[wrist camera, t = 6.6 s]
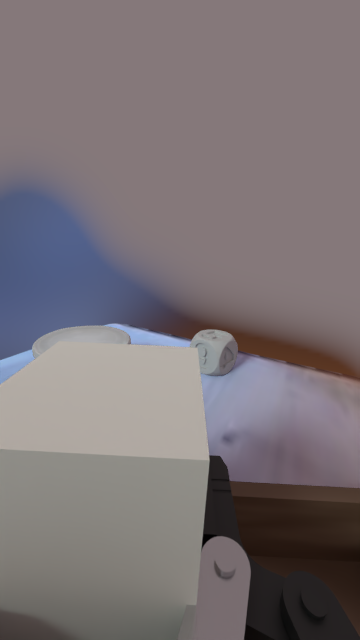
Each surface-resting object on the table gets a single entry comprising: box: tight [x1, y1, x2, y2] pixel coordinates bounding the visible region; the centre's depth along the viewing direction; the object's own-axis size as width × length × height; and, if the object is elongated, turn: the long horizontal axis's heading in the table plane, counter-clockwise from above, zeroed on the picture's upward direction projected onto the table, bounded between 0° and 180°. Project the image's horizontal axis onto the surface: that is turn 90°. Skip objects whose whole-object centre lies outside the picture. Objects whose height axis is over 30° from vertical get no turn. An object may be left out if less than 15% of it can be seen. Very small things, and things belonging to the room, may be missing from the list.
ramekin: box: [32, 326, 131, 359], centre depth 32 cm, size 11×11×5 cm
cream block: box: [0, 341, 210, 640], centre depth 8 cm, size 5×5×12 cm
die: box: [190, 330, 238, 376], centre depth 36 cm, size 5×5×5 cm
